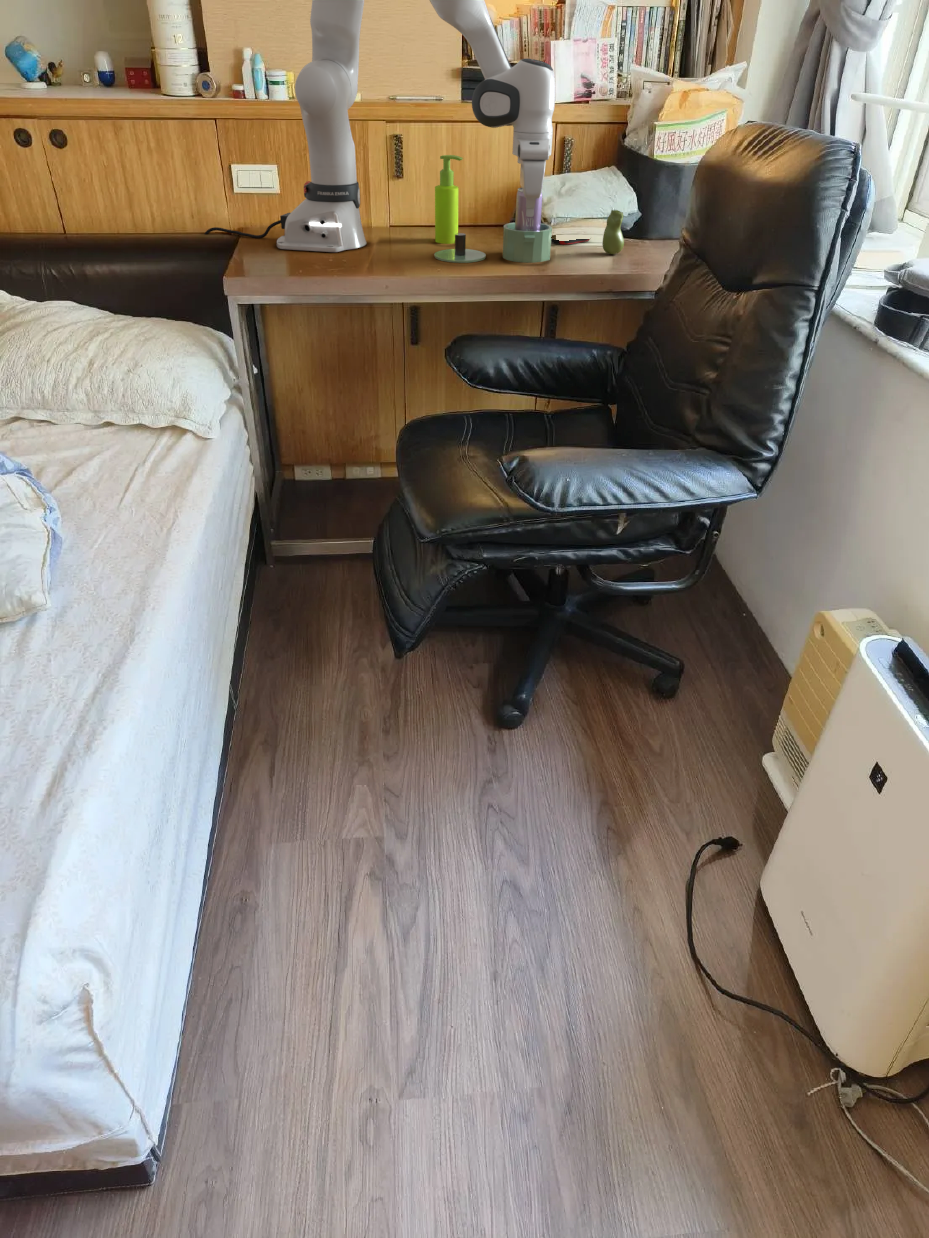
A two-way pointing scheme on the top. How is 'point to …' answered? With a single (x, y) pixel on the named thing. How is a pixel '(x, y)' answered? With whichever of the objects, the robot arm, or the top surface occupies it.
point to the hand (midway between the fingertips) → (528, 213)
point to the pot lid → (460, 252)
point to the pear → (613, 233)
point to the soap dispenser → (446, 204)
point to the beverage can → (521, 219)
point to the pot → (526, 244)
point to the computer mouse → (569, 241)
